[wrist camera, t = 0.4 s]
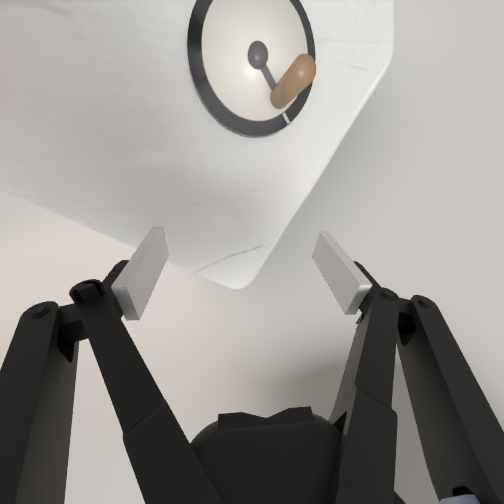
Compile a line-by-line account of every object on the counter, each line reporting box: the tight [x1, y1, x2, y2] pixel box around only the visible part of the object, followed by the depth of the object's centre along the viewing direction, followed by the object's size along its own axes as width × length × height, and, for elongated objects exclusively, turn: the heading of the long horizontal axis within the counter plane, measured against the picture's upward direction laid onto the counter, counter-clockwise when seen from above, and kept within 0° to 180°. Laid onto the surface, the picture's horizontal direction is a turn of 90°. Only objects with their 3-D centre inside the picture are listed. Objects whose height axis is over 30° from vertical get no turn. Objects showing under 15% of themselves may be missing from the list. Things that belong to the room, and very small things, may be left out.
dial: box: [202, 0, 316, 122], centre depth 25 cm, size 16×16×10 cm
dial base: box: [187, 0, 315, 137], centre depth 31 cm, size 20×20×2 cm
